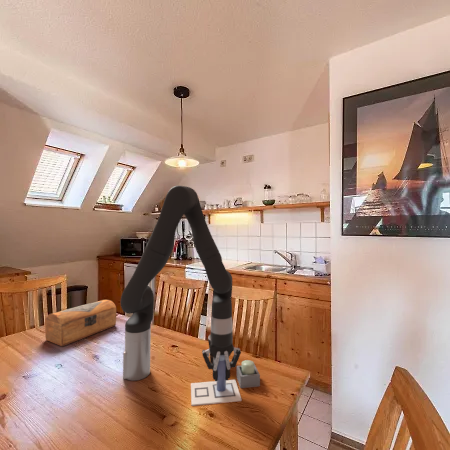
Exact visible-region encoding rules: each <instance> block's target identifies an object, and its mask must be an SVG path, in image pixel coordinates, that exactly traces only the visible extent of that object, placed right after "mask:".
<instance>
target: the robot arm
mask: <svg viewBox="0 0 450 450" xmlns="http://www.w3.org/2000/svg"><path fill="white" fill-rule="evenodd" d="M183 216H184V217H185V218H186V220H187V222H188V224H189V227H190V231H191V235H192V239H193V245H194V248H195V251H196V253H197V254H198V257H199V259H200V262H201V263H202V266H203V267H204V272H205V274H206V277H207V280H208V282H209V284H210V287H211V288H212V290H213V291H212V293H213V294H212V295H213V296H212V297H213V298H212V301H211V318H210V335H211V345H210V347H209V346H208V349H202V350H201V353H202V357H203V359H204V362H205V365H206V367H207V369H208V370H212V378H213V380H214V381H217V366H218V362H219V357H220V355H225V360H226V380H229V379H230V378H231V369H232V368H234V369H235V368H236V367H237V364H238V361H239V359H240V356H241V354H242V351H241V349H240V347H235V346H234V344H233V338H234V337H233V335H234V334H233V330H234V329H233V323H234V322H233V303H232V302H233V301H232V295H233V276H232V274H231V272H229V271H228V270H227V269H226V267H225V265H224V263H223V258H222V255H221V253H220V250H219V248H218V247H217V244H216V242H215V240H214V238H213V235H212V234H211V231H210V229H209V227H208V224H207V221H206V219H205V216H204V213H203V209H202V205H201V202H200V199H199V195H198V193H197V192H196V190H195V189H193V188H192V187H189V186H185V185H184V186H183V185H175V186H172V187H171V188H169V190H168V191H167V194H166V195H165V198H164V201H163V204H162V206H161V210H160V213H159V217H158V218H157V221H156V224H155V226H154V228H153V230H152V232H151V235H150V237H149V238H148V241H147V243H146V245H145V247H144V249H143V252H142V255H141V257H140V259H139V261H138V264H137V266H136V267H135V270H134V272H133V274H132V276H131V278H130V280H129V281H128V283H127V284H126V286H125V288H124V289H123V292H122V294H121V297H120V300H119V301H120V302H119V303H120V307H121V309H122V311H123V312H124V313H125V314H130V315H131V316H130V317H129V318H128V319H127V320H126V321H125V323H124V324H125V325H124V333H125V334H124V351H123V353H122V355H123V356H122V357H123V359H122V379H123V380H128V381H133V382H134V381H139V380H140V381H141V380H144V379H145V378H146V377H148V376H149V375H150V373H151V337H152V336H151V328H152V324H151V323H152V321H153V318H154V305H155V303H154V302H155V296H154V292H153V289H152V288H151V287H150V286H149V285H150V283H151V282H152V281H153V280H154V278H156V276H158V275H159V273H160V272H161V271H162V270H163V269H164V267H165V266H166V265H167V263H168V261H169V259H170V257H171V254H172V253H173V251H174V248H175V240H176V239H175V238H176V232H177V228H178V226H179V223H180V222H181V219H182V218H183ZM210 353H211V354H212V355H213V357H214V360H213V364H212V363H211V362H210ZM232 354H233V356H232V358H231V361H230V356H231V355H232Z"/></svg>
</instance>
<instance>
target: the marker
mask: <svg viewBox="0 0 450 450" xmlns="http://www.w3.org/2000/svg"><path fill="white" fill-rule="evenodd" d="M225 390H226V360H225V355H220V357H219V362H218V366H217V391H220V392H223V391H225Z"/></svg>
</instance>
